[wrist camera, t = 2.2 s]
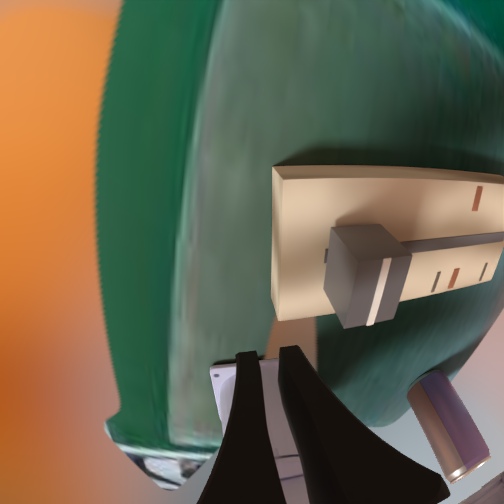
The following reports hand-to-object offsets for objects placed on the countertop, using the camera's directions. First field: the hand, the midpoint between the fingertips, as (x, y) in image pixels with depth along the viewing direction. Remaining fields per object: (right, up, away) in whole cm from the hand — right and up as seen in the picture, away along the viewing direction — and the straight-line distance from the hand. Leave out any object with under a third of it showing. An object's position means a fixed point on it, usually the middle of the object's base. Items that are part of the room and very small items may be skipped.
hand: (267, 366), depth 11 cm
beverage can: (+22, -13, +23) cm, 34 cm away
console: (+11, +6, +9) cm, 15 cm away
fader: (+5, +4, +6) cm, 9 cm away
